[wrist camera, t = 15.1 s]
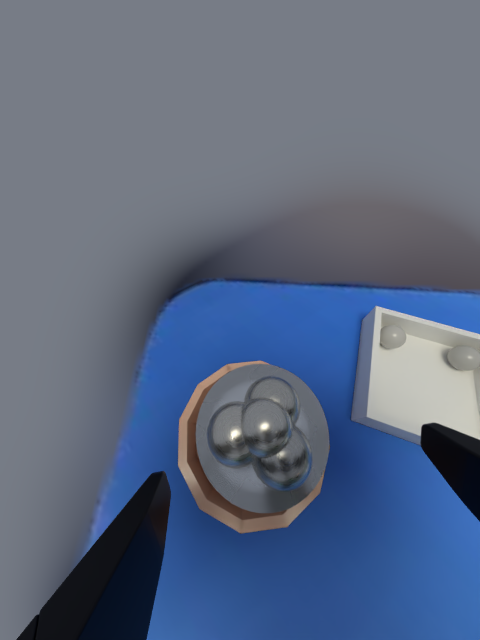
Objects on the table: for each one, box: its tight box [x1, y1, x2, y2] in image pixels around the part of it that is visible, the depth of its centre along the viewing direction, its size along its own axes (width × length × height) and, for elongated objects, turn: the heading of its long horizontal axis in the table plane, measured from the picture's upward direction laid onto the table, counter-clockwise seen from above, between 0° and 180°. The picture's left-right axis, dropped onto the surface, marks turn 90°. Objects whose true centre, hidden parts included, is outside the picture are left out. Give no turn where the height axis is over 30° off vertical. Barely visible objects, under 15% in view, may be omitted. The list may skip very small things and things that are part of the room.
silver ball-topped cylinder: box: [196, 364, 329, 513], centre depth 13 cm, size 5×5×14 cm
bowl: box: [178, 361, 330, 534], centre depth 18 cm, size 11×11×4 cm
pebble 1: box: [380, 325, 406, 349], centre depth 23 cm, size 2×2×2 cm
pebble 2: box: [447, 345, 480, 371], centre depth 21 cm, size 2×2×2 cm
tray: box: [351, 306, 480, 445], centre depth 21 cm, size 11×11×3 cm
